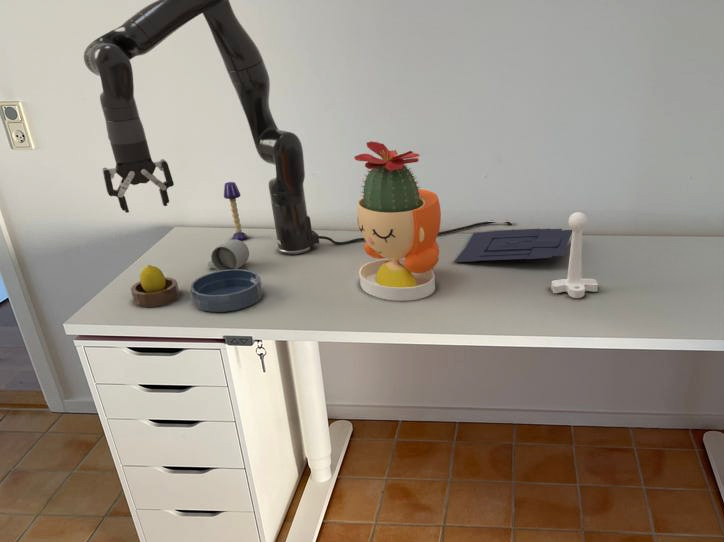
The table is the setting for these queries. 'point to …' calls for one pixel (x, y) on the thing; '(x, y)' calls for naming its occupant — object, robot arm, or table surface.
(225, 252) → the ceramic mug
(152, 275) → the lemon
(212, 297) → the bowl
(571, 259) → the joystick
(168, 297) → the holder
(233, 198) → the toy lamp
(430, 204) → the potted cactus
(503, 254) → the dark blue flat board
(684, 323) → the table surface
